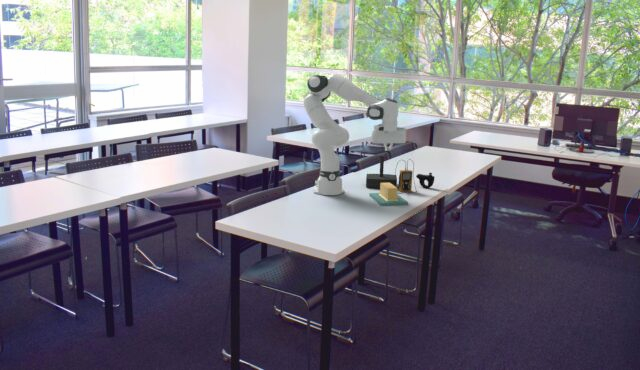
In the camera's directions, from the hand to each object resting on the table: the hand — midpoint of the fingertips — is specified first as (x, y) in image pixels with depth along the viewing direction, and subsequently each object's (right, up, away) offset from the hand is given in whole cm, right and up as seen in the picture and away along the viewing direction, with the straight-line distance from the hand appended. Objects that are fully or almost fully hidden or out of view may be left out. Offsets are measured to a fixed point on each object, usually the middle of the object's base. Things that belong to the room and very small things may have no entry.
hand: (387, 150), depth 334 cm
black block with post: (0, -21, +32) cm, 38 cm away
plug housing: (0, -27, -2) cm, 27 cm away
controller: (+27, -22, +29) cm, 45 cm away
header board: (0, -29, -2) cm, 29 cm away
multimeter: (+14, -25, +15) cm, 32 cm away
